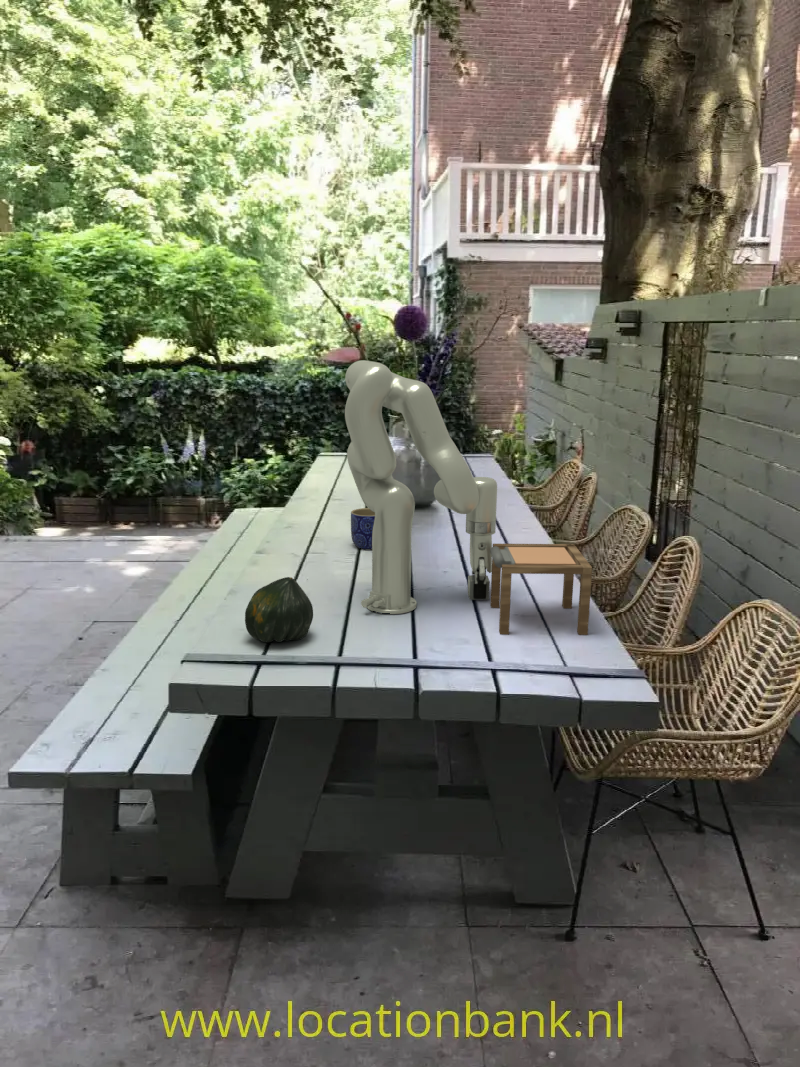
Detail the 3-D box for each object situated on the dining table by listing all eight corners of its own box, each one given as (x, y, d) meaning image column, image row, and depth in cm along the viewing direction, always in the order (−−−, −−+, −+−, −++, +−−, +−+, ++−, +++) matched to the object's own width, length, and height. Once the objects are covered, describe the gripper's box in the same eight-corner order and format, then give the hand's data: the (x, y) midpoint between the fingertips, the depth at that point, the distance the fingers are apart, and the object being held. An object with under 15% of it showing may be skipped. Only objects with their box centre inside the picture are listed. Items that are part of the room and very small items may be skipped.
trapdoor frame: (587, 634, 197) (592, 567, 193) (500, 634, 197) (502, 567, 193) (570, 605, 216) (573, 544, 212) (490, 605, 216) (492, 543, 212)
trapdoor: (575, 571, 196) (576, 560, 196) (495, 570, 196) (496, 560, 196) (563, 554, 210) (564, 544, 209) (488, 553, 210) (489, 543, 209)
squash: (226, 611, 194) (252, 572, 185) (280, 599, 204) (307, 562, 195) (253, 664, 189) (281, 627, 180) (307, 649, 199) (336, 613, 190)
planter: (387, 542, 273) (388, 508, 270) (383, 552, 262) (384, 516, 260) (353, 541, 274) (353, 507, 271) (348, 551, 263) (348, 515, 261)
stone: (489, 600, 220) (489, 581, 219) (469, 600, 220) (469, 581, 219) (486, 593, 225) (487, 575, 224) (467, 593, 225) (468, 575, 224)
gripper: (499, 535, 210) (496, 605, 214) (491, 518, 227) (489, 583, 231) (468, 534, 210) (466, 605, 214) (463, 518, 226) (461, 583, 231)
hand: (478, 593), depth 223 cm, fingers open, 6 cm apart
